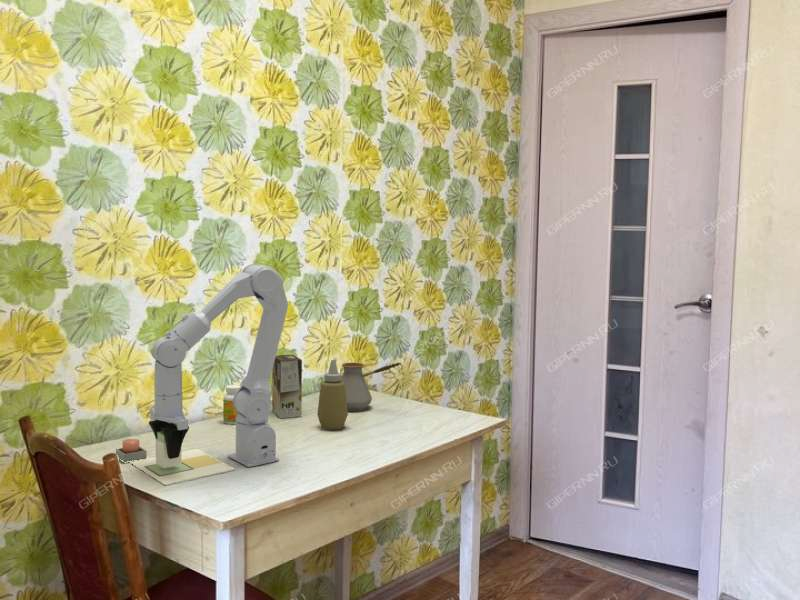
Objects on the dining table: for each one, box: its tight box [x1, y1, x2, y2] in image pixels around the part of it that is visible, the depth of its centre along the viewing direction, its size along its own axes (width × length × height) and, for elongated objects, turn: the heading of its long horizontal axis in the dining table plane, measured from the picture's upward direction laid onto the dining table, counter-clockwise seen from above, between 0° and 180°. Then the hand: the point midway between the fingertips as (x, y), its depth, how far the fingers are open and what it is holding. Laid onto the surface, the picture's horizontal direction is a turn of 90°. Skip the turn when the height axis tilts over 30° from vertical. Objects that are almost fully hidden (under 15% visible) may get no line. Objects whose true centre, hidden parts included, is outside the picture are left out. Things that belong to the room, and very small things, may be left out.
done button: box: [122, 438, 141, 454], centre depth 171 cm, size 4×4×2 cm
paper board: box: [131, 448, 236, 486], centre depth 167 cm, size 18×16×1 cm
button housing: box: [115, 446, 147, 462], centre depth 171 cm, size 5×5×2 cm
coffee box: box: [271, 354, 303, 419], centre depth 213 cm, size 9×6×16 cm
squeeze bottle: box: [316, 359, 349, 431], centre depth 200 cm, size 8×8×18 cm
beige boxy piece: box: [155, 431, 182, 468], centre depth 164 cm, size 4×4×7 cm
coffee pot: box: [341, 362, 404, 412], centre depth 219 cm, size 21×12×15 cm, turn 65°
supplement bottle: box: [222, 384, 241, 425], centre depth 203 cm, size 5×5×10 cm
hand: (169, 455), depth 165 cm, fingers closed on beige boxy piece, 4 cm apart
